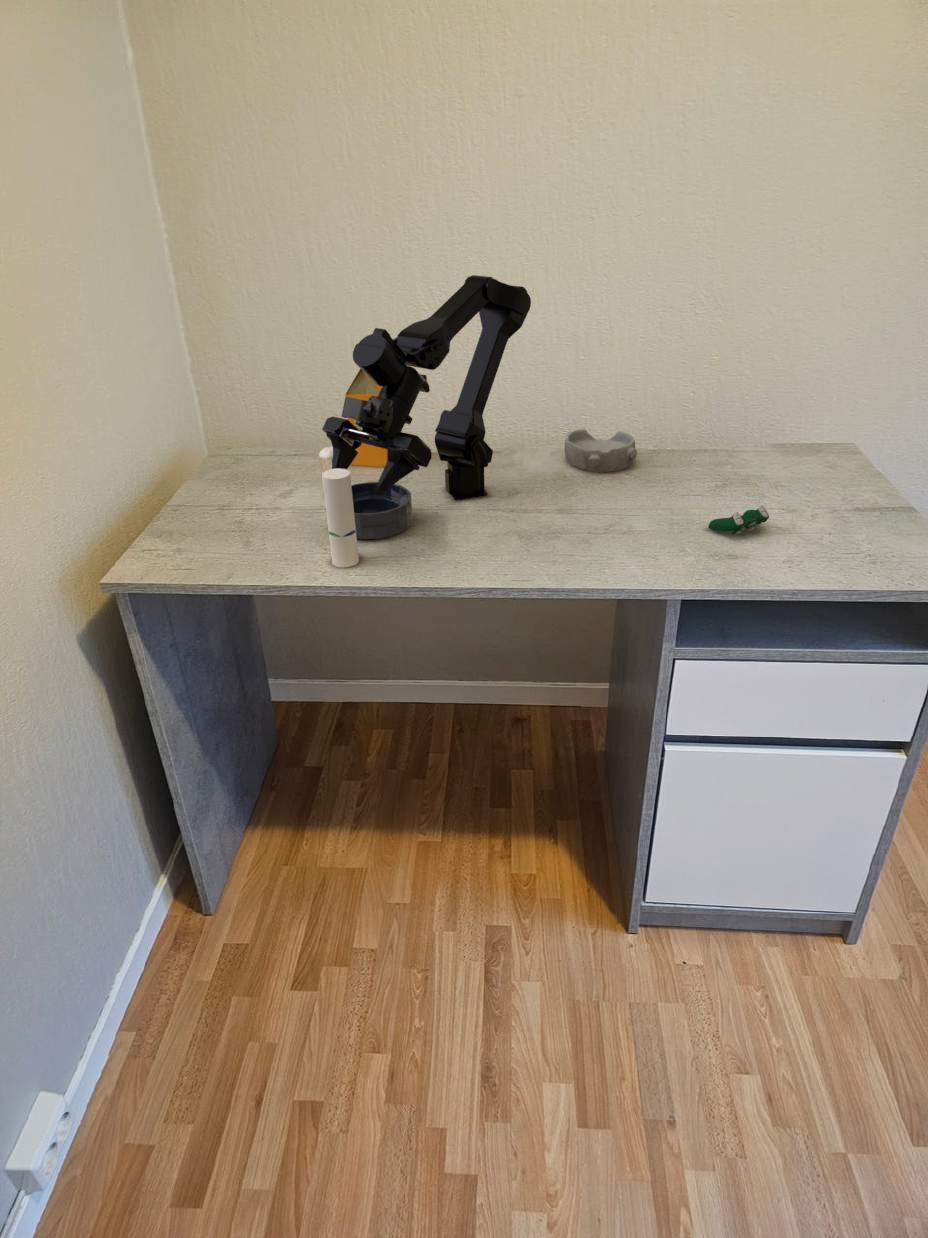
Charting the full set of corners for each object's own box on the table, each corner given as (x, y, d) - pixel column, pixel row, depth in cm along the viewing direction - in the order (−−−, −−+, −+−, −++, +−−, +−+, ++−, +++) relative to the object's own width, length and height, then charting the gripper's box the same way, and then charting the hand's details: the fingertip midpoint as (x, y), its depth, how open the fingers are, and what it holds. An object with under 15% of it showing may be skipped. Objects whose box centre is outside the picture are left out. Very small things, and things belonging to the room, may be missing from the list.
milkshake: (347, 500, 156) (342, 448, 151) (320, 498, 157) (314, 447, 152) (355, 490, 160) (350, 440, 154) (328, 489, 161) (322, 438, 155)
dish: (558, 451, 175) (559, 428, 172) (622, 447, 176) (624, 424, 173) (573, 477, 162) (574, 453, 160) (642, 473, 164) (645, 448, 161)
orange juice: (399, 451, 177) (393, 356, 166) (387, 467, 170) (380, 367, 159) (364, 450, 178) (355, 354, 168) (351, 465, 171) (341, 366, 161)
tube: (332, 555, 136) (322, 469, 129) (359, 554, 137) (350, 467, 129) (331, 568, 133) (320, 479, 125) (358, 566, 133) (349, 478, 125)
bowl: (401, 502, 154) (399, 477, 152) (421, 533, 143) (420, 506, 140) (326, 514, 151) (323, 488, 148) (341, 547, 139) (338, 519, 137)
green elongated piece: (713, 544, 141) (735, 531, 135) (705, 523, 141) (726, 509, 136) (754, 532, 144) (777, 518, 139) (746, 512, 145) (768, 498, 139)
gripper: (323, 365, 131) (281, 453, 129) (416, 383, 122) (372, 478, 120) (361, 402, 141) (322, 485, 139) (450, 421, 131) (409, 510, 129)
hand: (354, 488), depth 131 cm, fingers open, 9 cm apart
